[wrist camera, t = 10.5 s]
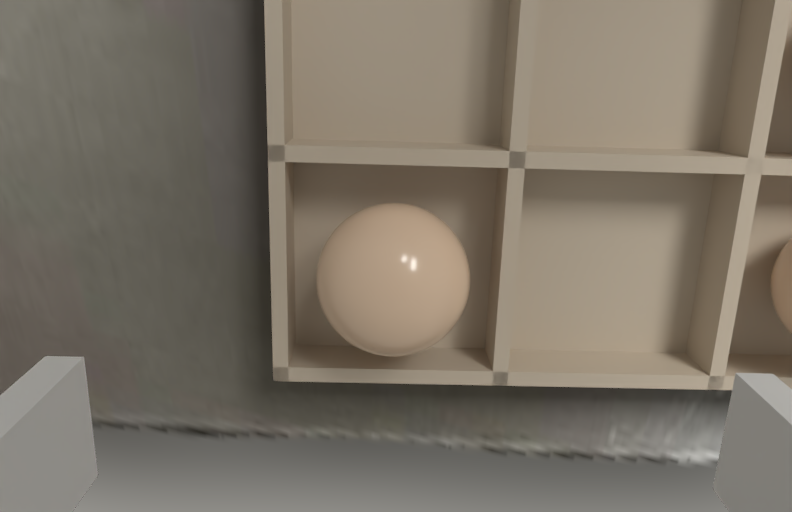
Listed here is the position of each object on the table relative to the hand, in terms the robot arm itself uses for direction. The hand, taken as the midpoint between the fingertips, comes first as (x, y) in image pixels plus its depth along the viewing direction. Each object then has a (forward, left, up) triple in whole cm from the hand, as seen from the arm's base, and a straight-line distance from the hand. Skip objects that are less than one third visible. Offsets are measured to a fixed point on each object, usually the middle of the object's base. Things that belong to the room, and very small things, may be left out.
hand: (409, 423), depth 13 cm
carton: (-4, +8, -14) cm, 17 cm away
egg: (0, 0, -14) cm, 14 cm away
